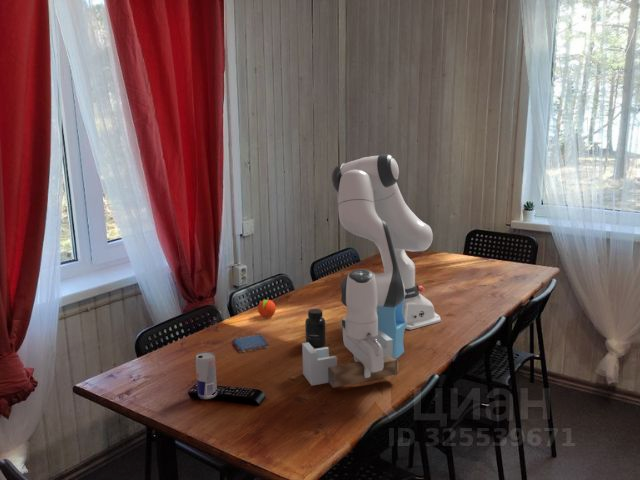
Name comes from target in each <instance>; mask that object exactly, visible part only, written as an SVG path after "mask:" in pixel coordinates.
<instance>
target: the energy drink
mask: <svg viewBox="0 0 640 480" xmlns="http://www.w3.org/2000/svg"><path fill="white" fill-rule="evenodd" d="M195 372H196V384H197V385H196V386H197V396H198V397H199V398H200V399H202V400H211V399H214V398H215V397H216V396H217V395H218V385H217V383H218V381H217V369H216V357H215V354H214V353H213V352H211V351H202V352H200V353H197V354H196V355H195ZM216 390H217V392H216V393H215V394H214V395H212V394H213V393H214V392H215V391H216Z"/></svg>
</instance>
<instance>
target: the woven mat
mask: <svg viewBox="0 0 640 480" xmlns="http://www.w3.org/2000/svg"><path fill="white" fill-rule="evenodd" d="M232 345H233V346H234V347H235V348H236V351H237V352H238V353H239V354H242V353H248V352H252V351H253V352H254V351H258V350H264V348H265V349H268V347H269V346H270V345H269V344H268V342H267V340H266V339H265V338H264V337H263V335H262V334H260V333H259V334H255V335H249V336H243V337H237V338H233V339H232Z"/></svg>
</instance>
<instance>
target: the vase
mask: <svg viewBox="0 0 640 480" xmlns="http://www.w3.org/2000/svg"><path fill="white" fill-rule="evenodd" d="M405 295H406V293H405ZM404 298H405V296H404ZM403 302H404V300H403V301H402V302H401V303H400V304H399V305H397V306H396V307H383V306H377V308H376V311H377V315H378V331H380V330H381V331H383V332H384V333H385V334H386V335H388V336H389V337H390V338H391V339H393V357H394V358H396V359H397V360H398V358H399V357H401V356H402V355H403V354H404V353H405V348H404V334H405V332H406V329H405V327H406V321H405V318H404V315H403Z"/></svg>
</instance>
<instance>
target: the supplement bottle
mask: <svg viewBox="0 0 640 480" xmlns="http://www.w3.org/2000/svg"><path fill="white" fill-rule="evenodd" d="M323 316H324V315H323V310H322V309H320V308H311V309H309V310H308V311H307V318H306V319H305V327H304V329H305V343H307V342H309V343H310V345H311V346H312V347H313V348H314V349H318V348H323V347H324V346H325V345H326V320H325V318H324V317H323Z"/></svg>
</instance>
